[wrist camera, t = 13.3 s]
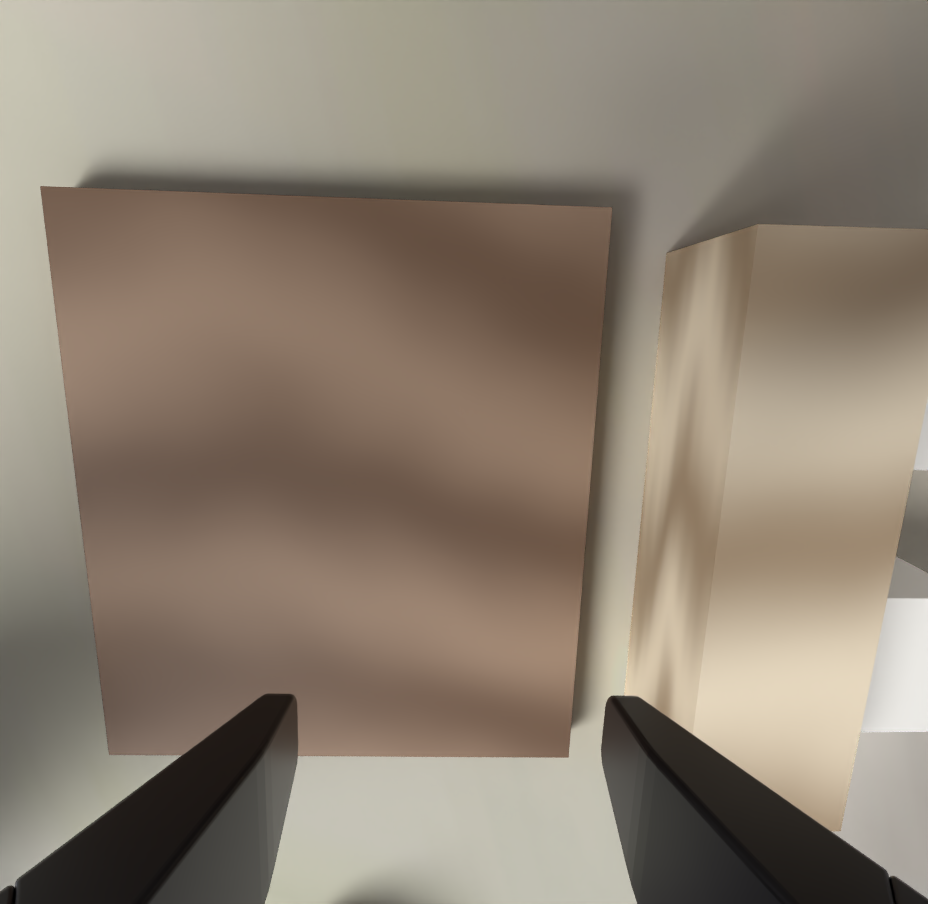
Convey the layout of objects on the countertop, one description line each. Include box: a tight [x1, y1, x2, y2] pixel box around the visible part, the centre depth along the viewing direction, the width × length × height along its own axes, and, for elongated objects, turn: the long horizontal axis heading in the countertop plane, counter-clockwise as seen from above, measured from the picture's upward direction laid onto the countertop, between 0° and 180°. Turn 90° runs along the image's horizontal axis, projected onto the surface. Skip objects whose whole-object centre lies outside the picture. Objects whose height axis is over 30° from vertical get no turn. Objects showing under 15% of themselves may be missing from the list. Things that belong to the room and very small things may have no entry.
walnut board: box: [40, 186, 612, 757], centre depth 16 cm, size 16×14×1 cm
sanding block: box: [624, 224, 928, 831], centre depth 15 cm, size 14×4×5 cm, turn 179°
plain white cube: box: [861, 557, 928, 732], centre depth 17 cm, size 4×4×3 cm
